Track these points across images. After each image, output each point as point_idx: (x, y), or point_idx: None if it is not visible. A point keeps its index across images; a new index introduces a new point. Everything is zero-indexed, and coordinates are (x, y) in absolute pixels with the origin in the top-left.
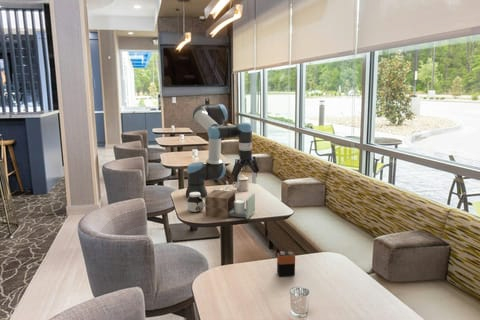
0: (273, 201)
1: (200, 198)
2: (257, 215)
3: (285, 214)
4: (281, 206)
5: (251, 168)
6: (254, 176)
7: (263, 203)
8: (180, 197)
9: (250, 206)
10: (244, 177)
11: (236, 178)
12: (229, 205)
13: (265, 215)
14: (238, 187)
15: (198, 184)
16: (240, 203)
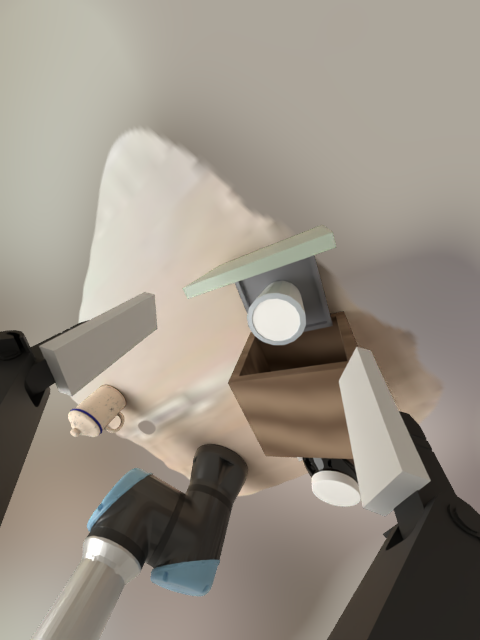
0: (97, 280)
1: (333, 458)
2: (239, 235)
3: (148, 132)
4: (103, 222)
5: (18, 453)
6: (103, 335)
7: (133, 296)
8: (255, 483)
9: (276, 247)
10: (77, 423)
11: (423, 461)
12: (260, 360)
13: (217, 205)
14: (366, 349)
15: (216, 496)
16: (297, 301)
